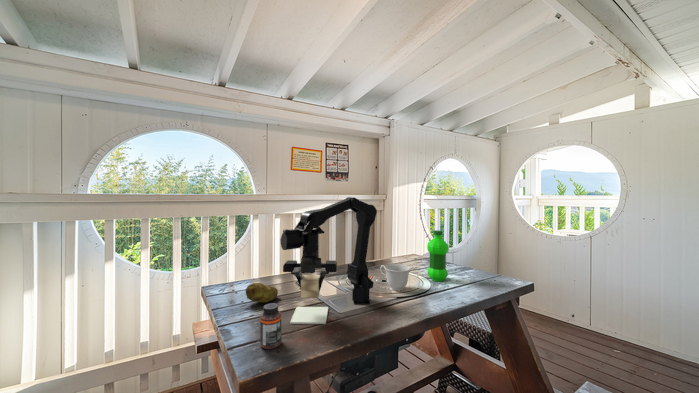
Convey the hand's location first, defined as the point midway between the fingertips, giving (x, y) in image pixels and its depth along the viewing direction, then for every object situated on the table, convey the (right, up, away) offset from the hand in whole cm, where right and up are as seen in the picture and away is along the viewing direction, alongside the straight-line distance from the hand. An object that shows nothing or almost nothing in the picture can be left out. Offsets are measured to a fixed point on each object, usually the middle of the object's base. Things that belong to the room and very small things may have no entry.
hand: (310, 290), depth 96 cm
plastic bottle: (+59, -9, +40) cm, 72 cm away
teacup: (+35, -9, +28) cm, 46 cm away
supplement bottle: (-9, -10, -18) cm, 22 cm away
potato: (-21, -9, +12) cm, 26 cm away
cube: (0, -2, 0) cm, 2 cm away
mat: (0, -9, 0) cm, 9 cm away
